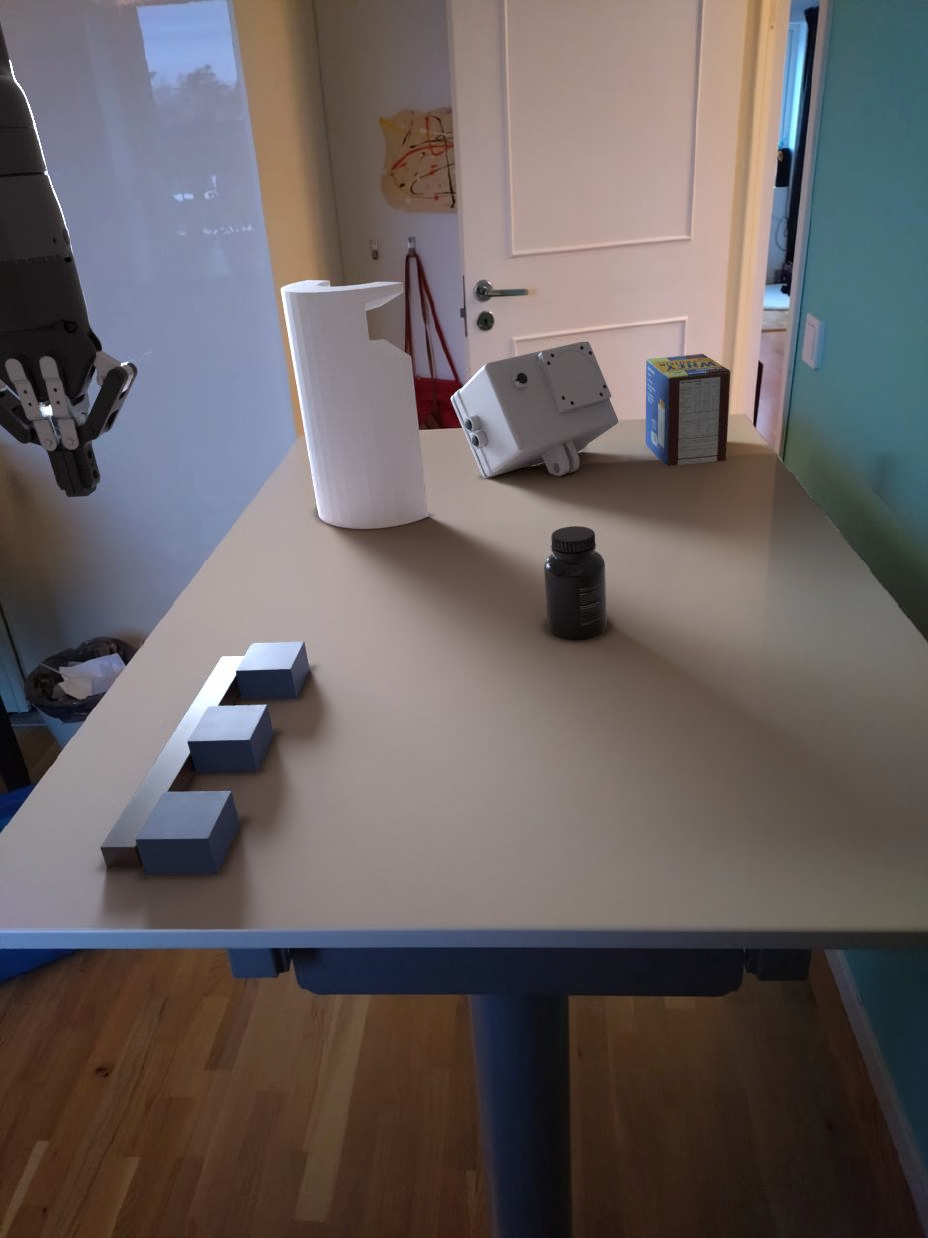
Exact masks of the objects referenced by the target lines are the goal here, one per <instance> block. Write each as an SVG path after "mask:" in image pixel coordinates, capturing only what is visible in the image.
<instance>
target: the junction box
mask: <svg viewBox="0 0 928 1238" xmlns="http://www.w3.org/2000/svg"><path fill="white" fill-rule="evenodd" d="M611 398H612V393H611V391H610V388H609V387H608V384H607V382H606V379H605V377H604V374H603V373H602V369H601V367H600V365H599V363H598V360H597V358H596V355H595V353H594V351H593V348H592V346H591V343H590V341H579V342H574V343H570V344H566V345H565V344H564V345H560V346H557V347H553V348H548V349H543V350H539V351H534V352H530V353H526V354H522V355H517V356H513V357H512V356H511V357H508V358H503V359H499V360H494V361H491V362H487V363H485V364H484V365H483V366H482V367H481V368H479V369H478V371H476V373H475V374H474V375H473V376H472V377H471V378H470V379H469V380H468V381H467V382H466V383H465V384H464V385H463V386H462V387H461V388H459V389H457V391H455V392H454V394H453V395H451V397H450V402H451V405H452V406H453V409H454V412H455V413H456V416H457V418H458V422H459V424H460V426H461V428H462V430H463V433H464V435H465V438H466V441H467V443H468V445H469V448H470V450H471V453H472V455H473V457H474V460H475V463H476V465H477V467H478V470H479V472H480V474H481V477H482V478H483V479H490V478H494V477H497V476H500V475H504V474H506V473H509V472H510V473H511V472H513V471H517V470H520V469H524V468H531V467H534V466H537V465H540V464H545V466H546V469H547V471H548V473H549V474H551V475H554V476H556V477H561V476H564V475H566V474H571V473H574V472H576V471H577V470H578V469H579V468H580V456H579V454H578V453H579V452H581V450H583V449H585V448H587V447H588V445H589V444H590V443H591V442H593V441H594V440H596V439H597V438H599V437H600V436H602V435H603V434H605V433H606V432H607V431H609V430H610V429H612V428H613V427H615V426H616V425H617V424H618V423H619V418H618V416H617V413H616V411H615V409H614V406H613V404H612V402H611V400H610V399H611Z"/></svg>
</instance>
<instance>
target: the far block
mask: <svg viewBox="0 0 928 1238" xmlns="http://www.w3.org/2000/svg"><path fill="white" fill-rule="evenodd" d="M243 656H244V657H243V659H242V661H241V662H240V664H239V666H238V667H237V669H236V676H237V680H238V684H239V689H240V692H239V694H240V697H241V700H274V699H278V700H279V699H297V698H298V696H299V694H300V691H301V689H302V687H303V685H304V683H305V680H306V679H307V676H308V674H309V672H310V664H309V663H310V662H309V659H308V652H307V648H306V642H305V641H277V642H276V641H275V642H251V644H250V646H249V647H248V649H247V650H246V652H245V653H244V655H243Z"/></svg>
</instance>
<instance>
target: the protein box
mask: <svg viewBox="0 0 928 1238" xmlns="http://www.w3.org/2000/svg"><path fill="white" fill-rule="evenodd" d="M645 361H646V362H645V365H646V366H645V445H646V446H647V447H648V448H649V449H650V451H652V453H653V454H654V455H655V457H657V459H658V460H660V461H662V463H663V464H664V465H665V466H666V467H671V466H672V467H673V466H680V465H681V466H682V465H694V464H702V463H703V464H704V463H713V462H715V463H716V462H725V461H727V452H728V451H727V450H728V449H727V448H728V447H727V446H728V433H729V431H728V429H729V411H730V389H731V388H730V387H731V373H732V371H731V370H730V369H728V368H727V367H725V366H723V365H722V364H721V363H718V362H717V361H716V360H714V359H712V358H710V357H709V356H707V355H706V354H704V353H696V354H685V355H676V356H666V357H655V358H647V359H646V360H645Z"/></svg>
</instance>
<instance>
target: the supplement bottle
mask: <svg viewBox="0 0 928 1238" xmlns="http://www.w3.org/2000/svg"><path fill="white" fill-rule="evenodd" d="M550 539H551V545H550V549H551V552H552V553H551V554H550V555H549V556H548V557H547V558H546V559H545V561H544V565H543V570H544V571H543V572H544V590H545V602H546V603H545V607H546V620H547V621H546V622H547V630H548V631H549V633H550V634H551V635H552V636H554V637H556V638H559V639H561V640H566V641H586V640H590V639H594V638H597V637H599V636H601V635H602V634H603V633H604V632H605V631H606V630H607V623H608V620H607V619H608V618H607V611H608V610H607V582H606V581H607V580H606V579H607V578H606V562H605V559H604V558H603V556H602V555H601V554H600V553H599V552H598V551H596V549H597V543H596V533H595V531H594V529H592V528H589V527H586V526H580V525H579V526H578V525H573V526H572V525H571V526H566V527H564V526H563V527H560V528H557V529H556V530H554V531H553V532H552V533H551V537H550Z"/></svg>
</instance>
